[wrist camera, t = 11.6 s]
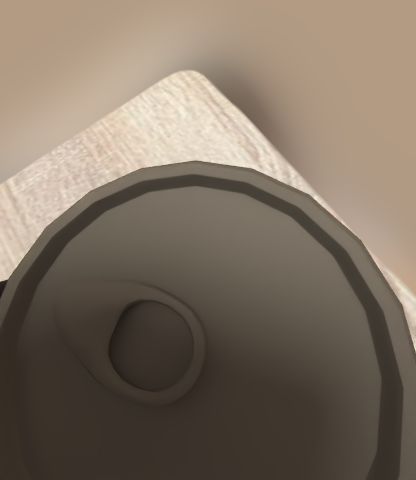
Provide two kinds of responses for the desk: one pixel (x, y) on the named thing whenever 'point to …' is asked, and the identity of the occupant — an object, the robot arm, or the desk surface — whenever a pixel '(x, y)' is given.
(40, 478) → the beer can
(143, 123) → the desk surface
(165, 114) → the desk surface
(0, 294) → the robot arm
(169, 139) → the desk surface
